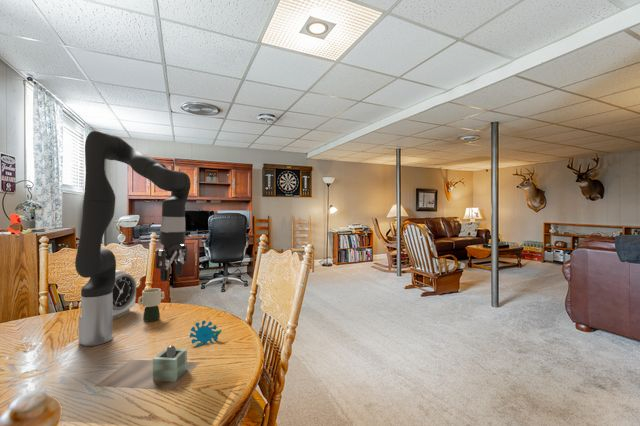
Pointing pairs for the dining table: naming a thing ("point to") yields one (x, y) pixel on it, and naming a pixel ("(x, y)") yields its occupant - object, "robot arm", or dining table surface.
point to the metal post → (171, 352)
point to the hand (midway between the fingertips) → (171, 277)
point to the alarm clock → (123, 293)
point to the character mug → (151, 303)
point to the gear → (204, 333)
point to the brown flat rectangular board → (142, 376)
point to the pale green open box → (169, 366)
